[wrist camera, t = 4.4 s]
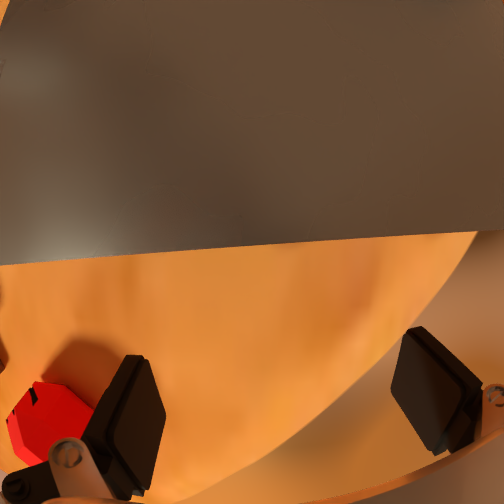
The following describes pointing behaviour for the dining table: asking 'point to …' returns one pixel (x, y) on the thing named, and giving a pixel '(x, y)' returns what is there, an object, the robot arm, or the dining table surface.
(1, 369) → the valve rest
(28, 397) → the ball
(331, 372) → the dining table surface
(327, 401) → the dining table surface
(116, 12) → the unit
